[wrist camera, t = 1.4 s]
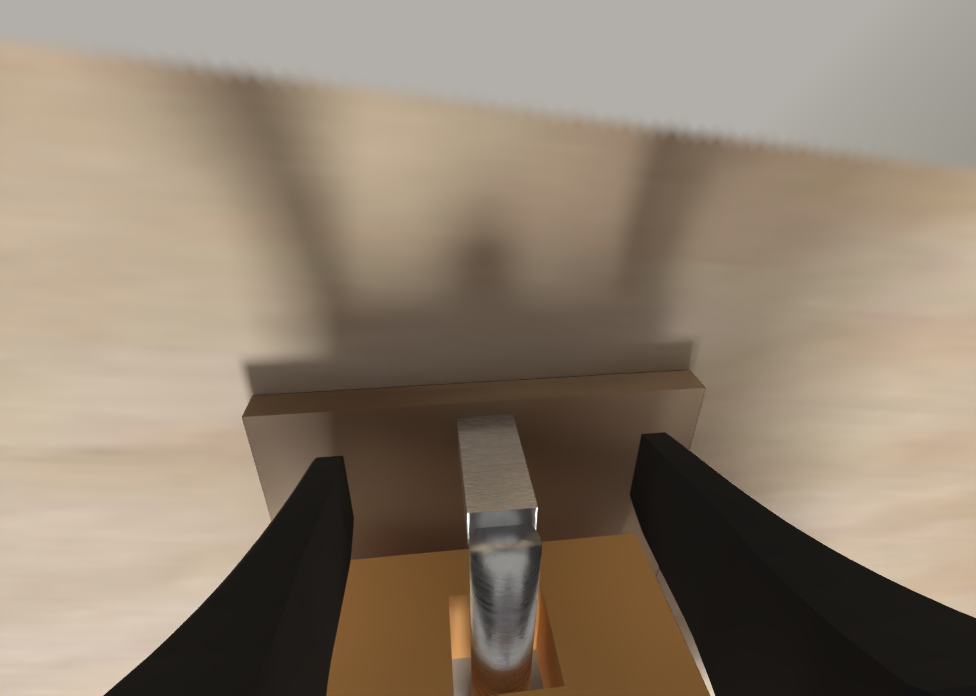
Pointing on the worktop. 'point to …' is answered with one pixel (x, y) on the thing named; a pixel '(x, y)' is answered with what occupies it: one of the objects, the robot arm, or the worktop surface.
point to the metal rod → (499, 553)
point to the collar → (558, 628)
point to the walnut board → (435, 459)
